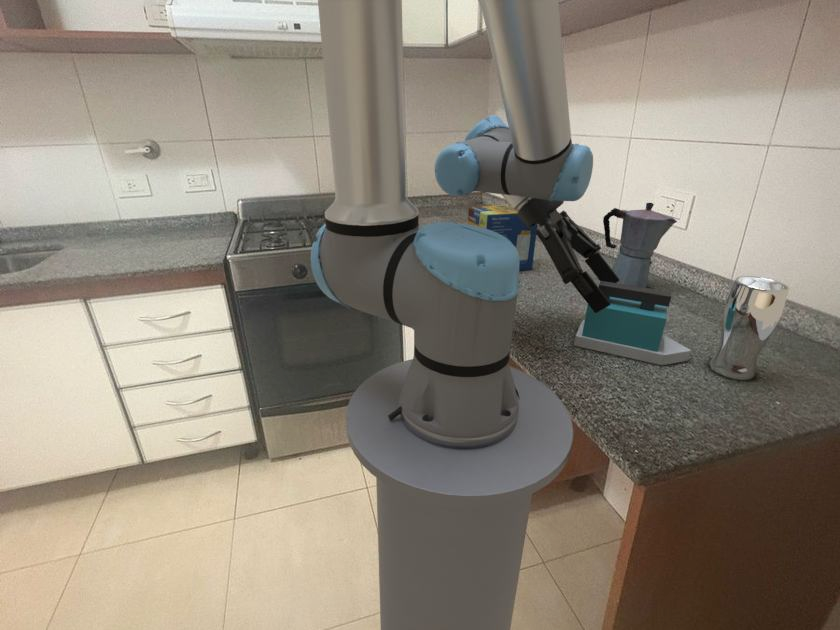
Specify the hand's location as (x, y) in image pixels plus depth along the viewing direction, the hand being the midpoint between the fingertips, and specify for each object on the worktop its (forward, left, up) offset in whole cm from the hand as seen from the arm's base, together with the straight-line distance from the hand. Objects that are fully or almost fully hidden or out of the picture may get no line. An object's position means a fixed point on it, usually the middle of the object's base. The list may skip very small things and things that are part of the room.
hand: (608, 295), depth 76 cm
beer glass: (+17, -11, -9) cm, 22 cm away
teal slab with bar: (+4, -3, -9) cm, 10 cm away
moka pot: (+22, +28, -9) cm, 37 cm away
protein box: (-5, +45, -9) cm, 47 cm away
